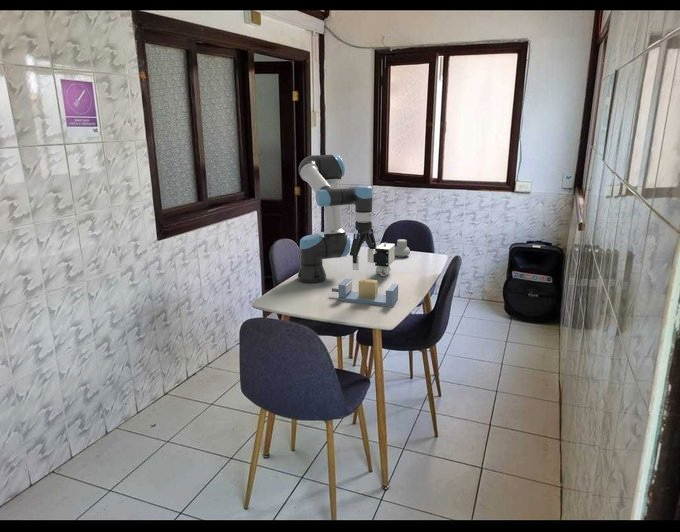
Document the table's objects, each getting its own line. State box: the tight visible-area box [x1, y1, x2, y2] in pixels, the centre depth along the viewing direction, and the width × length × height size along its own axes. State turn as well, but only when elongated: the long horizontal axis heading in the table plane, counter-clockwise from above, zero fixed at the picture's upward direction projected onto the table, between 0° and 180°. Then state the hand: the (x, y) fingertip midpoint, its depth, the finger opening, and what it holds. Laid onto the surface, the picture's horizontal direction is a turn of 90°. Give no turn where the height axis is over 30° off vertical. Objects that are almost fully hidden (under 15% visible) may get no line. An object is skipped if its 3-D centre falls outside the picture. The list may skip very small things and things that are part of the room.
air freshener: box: [395, 238, 411, 258], centre depth 302 cm, size 11×8×10 cm
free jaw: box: [331, 278, 353, 298], centre depth 232 cm, size 9×10×6 cm
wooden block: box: [358, 278, 379, 299], centre depth 227 cm, size 8×4×8 cm, turn 70°
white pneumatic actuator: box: [372, 242, 396, 277], centre depth 264 cm, size 18×8×18 cm, turn 159°
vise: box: [338, 283, 399, 308], centre depth 228 cm, size 26×10×8 cm, turn 69°
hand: (363, 266), depth 225 cm, fingers open, 13 cm apart
